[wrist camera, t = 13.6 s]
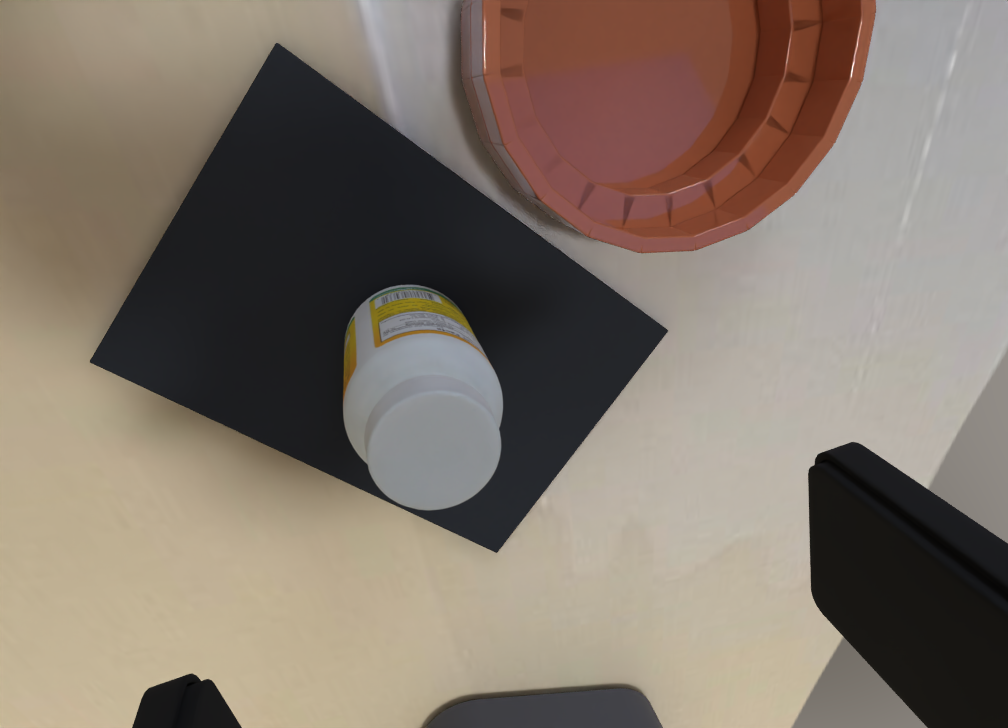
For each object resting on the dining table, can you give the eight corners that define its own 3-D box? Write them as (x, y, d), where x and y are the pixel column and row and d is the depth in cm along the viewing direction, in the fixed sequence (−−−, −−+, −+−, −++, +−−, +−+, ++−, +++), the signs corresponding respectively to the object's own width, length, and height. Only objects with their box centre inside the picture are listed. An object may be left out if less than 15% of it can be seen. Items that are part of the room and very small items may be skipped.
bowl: (385, 92, 24) (394, 89, 20) (615, -274, 22) (678, -362, 18) (648, 291, 30) (697, 321, 26) (855, 17, 27) (946, 2, 23)
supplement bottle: (407, 255, 26) (440, 329, 18) (494, 341, 28) (561, 444, 20) (314, 346, 27) (302, 462, 18) (407, 423, 29) (435, 559, 20)
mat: (92, 358, 25) (88, 362, 25) (277, 43, 23) (276, 41, 22) (495, 548, 33) (496, 553, 33) (664, 328, 31) (668, 330, 30)
